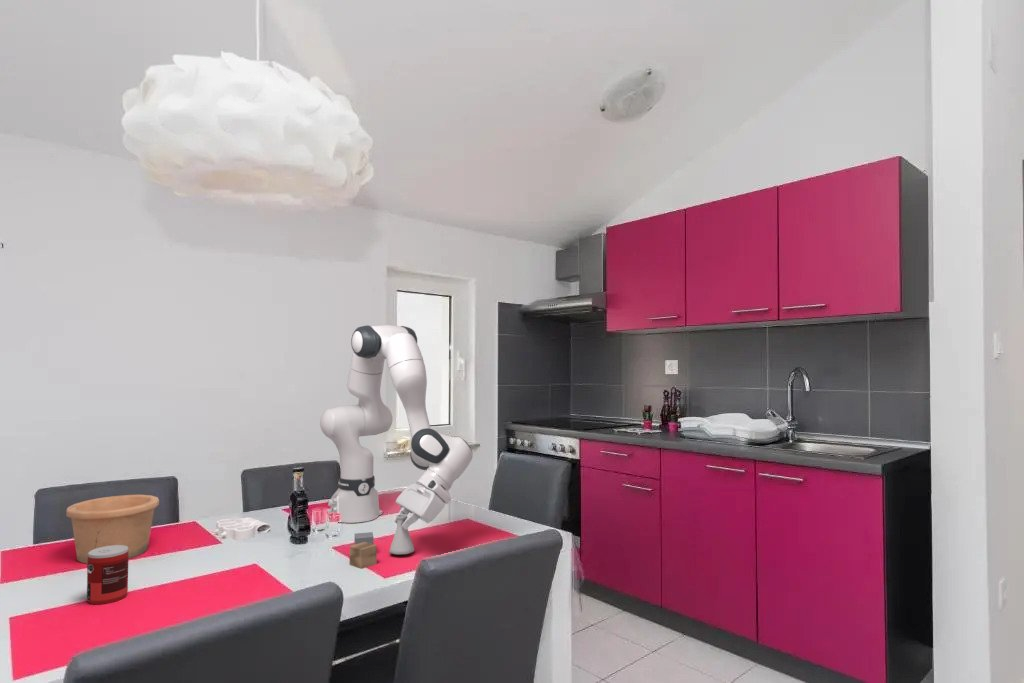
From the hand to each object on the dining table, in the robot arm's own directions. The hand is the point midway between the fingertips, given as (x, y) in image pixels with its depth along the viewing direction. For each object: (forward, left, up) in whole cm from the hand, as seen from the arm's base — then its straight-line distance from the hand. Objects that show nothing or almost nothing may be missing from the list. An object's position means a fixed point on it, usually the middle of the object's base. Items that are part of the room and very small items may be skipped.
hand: (399, 525), depth 167 cm
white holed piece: (-51, -31, -9) cm, 60 cm away
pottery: (-50, -64, -8) cm, 82 cm away
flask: (0, +1, -7) cm, 7 cm away
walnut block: (+1, -11, -8) cm, 14 cm away
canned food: (-13, -67, -8) cm, 69 cm away
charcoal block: (-8, -7, -8) cm, 13 cm away
